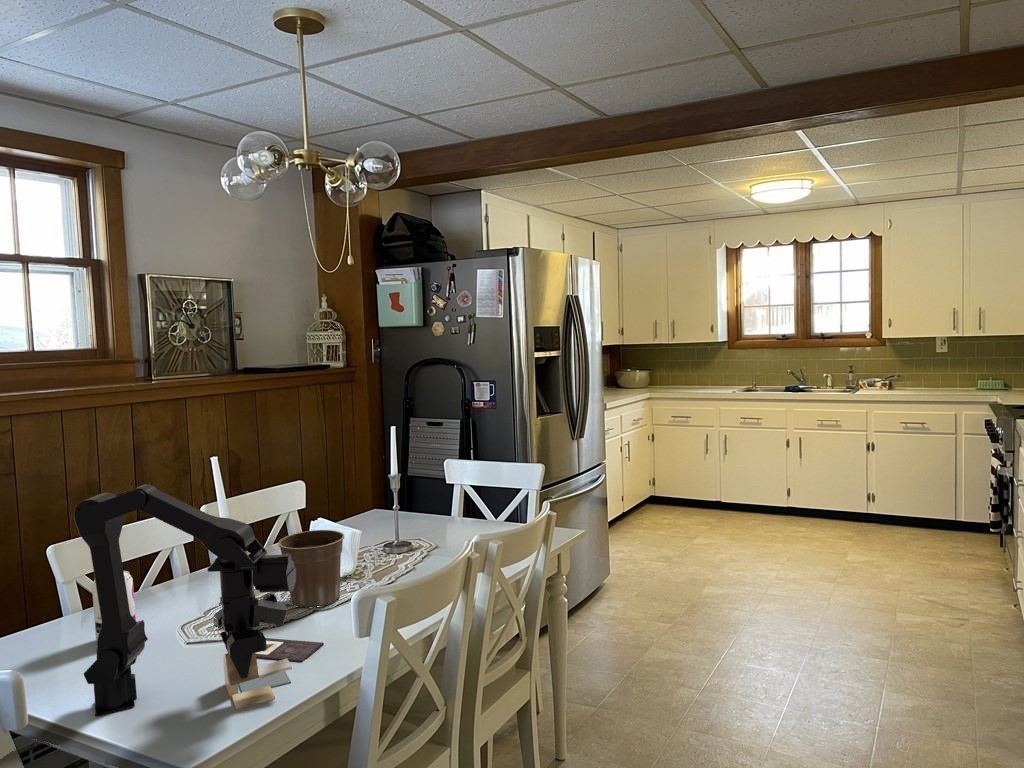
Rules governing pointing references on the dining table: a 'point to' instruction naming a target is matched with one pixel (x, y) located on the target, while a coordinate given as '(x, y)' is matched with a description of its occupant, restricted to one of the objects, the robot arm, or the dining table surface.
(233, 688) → the tile
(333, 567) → the plant pot
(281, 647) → the chocolate bar
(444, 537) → the dining table surface
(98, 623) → the supplement can
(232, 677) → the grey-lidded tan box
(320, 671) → the dining table surface
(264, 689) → the rest
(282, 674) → the plate
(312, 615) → the dining table surface
